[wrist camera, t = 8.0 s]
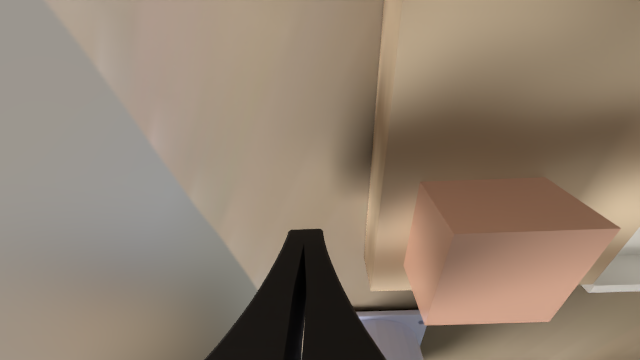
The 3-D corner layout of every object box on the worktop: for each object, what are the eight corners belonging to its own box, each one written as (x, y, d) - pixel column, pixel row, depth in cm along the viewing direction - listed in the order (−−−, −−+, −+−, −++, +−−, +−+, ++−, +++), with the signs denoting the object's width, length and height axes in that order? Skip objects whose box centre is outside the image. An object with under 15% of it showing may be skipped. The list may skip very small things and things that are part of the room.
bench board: (557, 250, 16) (592, 284, 14) (364, 257, 16) (370, 291, 14) (801, -134, 8) (982, -192, 5) (392, -114, 8) (420, -164, 6)
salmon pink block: (502, 262, 13) (549, 321, 10) (403, 265, 13) (424, 325, 10) (545, 177, 10) (621, 228, 8) (420, 181, 10) (454, 234, 8)
